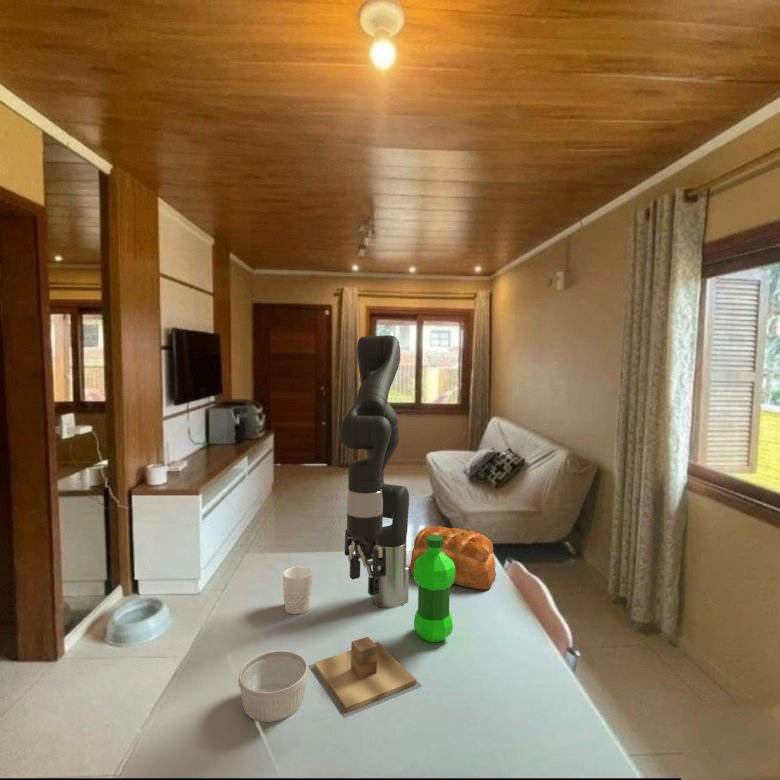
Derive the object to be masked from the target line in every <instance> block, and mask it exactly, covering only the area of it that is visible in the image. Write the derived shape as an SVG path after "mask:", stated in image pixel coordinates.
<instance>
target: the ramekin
mask: <svg viewBox="0 0 780 780" xmlns="http://www.w3.org/2000/svg"><path fill="white" fill-rule="evenodd" d="M308 675H309V664H308V662H307V660H306V658H304V657H303V656H302V655H301V654H299V653H297V652H294V651H290V650H271V651H266V652H262V653H259V654H258V655H256V656H254V657H252V658H250V659H249V660H247V662H246V663H244V664H243V666H242V667H241V669H240V671H239V674H238V687H239V689H240V695H241V696H240V697H241V703H242V708H243V710H244V712H245V713H246V715H247V717H249V718H251V720H253V721H255V722H257V721H258V723H259V722H263V723H272V722H278V721H281V720H284V719H286V718H288V717H290V716H292V715H294V714H295V712H297V711H298V709H300V707H301V706H302V704H303V701H304V698H305V694H306V693H305V692H306V686H307V679H308Z"/></svg>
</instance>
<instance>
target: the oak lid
mask: <svg viewBox="0 0 780 780" xmlns="http://www.w3.org/2000/svg"><path fill="white" fill-rule="evenodd" d="M350 647H351V650H349V651H345V652H342V653H339V654H335V655H333V656H329V657H327V658H324V659H321V660H318V661H315V662H314V663H313V664H314V667H315V668H316V670H317V671H318V673H319V674H320V676H321V677H322V678H323V680H324V681H325V683H326V684H327V686H328V687H329V688H330V690H331V691H332V693H333V694H334V696H335V697H336V698H337V700H338V701H339V703H340V704H341V706H342V707H343V708H344V710H345V711H346V713H347V712H349V711H352V710H354V709H357V708H359V707H362V706H364V705H367V704H369V703H372V702H374V701H377V700H379V699H382V698H384V697H387V696H389V695H391V694H394V693H396V692H399V691H401V690H404V689H406V688H409V687H411V686H414V685H416V680H417V679H416V678H415V677H414V676H413V675H412V674H411V673H410V672H409V671H408V670H407V669H406V668H405V667H404V666H403V665H402V664H401V663H400V662H399V660H397V659H396V657H394V656H393V655H392V654H391V652H390V651H389V650H388V649H387V648H385V647H384V645H383V644H382V643H381V642H380V641H376V642H374V641H373V640H372V639H371V638H370V637H369V636H366V637H363V638H359V639H356V640H353V641H351V646H350ZM400 664H401V665H402V666H403V667H404V668H405V669H406V670H407V671H408V672H409V673H410V674H411V675H412V676H413V677H414V678H415V679H416V680H415V679H414V678H413V677H412V676H411V675H410V674H409V673H408V672H407V671H406V670H405V669H404V668H403V667H402V666H401V665H400Z"/></svg>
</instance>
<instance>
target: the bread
mask: <svg viewBox="0 0 780 780" xmlns="http://www.w3.org/2000/svg"><path fill="white" fill-rule="evenodd" d="M429 535H440V536H442V537H443V547H441V551H442V552H443V553H444V554H445V555H447V556H448V557H449V558H450V559H451V560H452V561H453V563H454V565H455V580H454V583H453V584H456V585H458V586H461V587H465V588H469V589H476V590H488V589H490V588H492V585H493V583H494V582H495V580H496V577H497V573H496V558H495V555H494V545H493V542H492V541H491V540H490V539H489V538H488V536H486V535H484V534H481V533H480V532H478V531H475V530H473V531H472V530H468V531H467V530H465V529H461V528H457V527H456V528H455V527H451V528H449V527H446V526H440V525H439V526H426V527H424V528H422V529H420V531H419V532H418V533H417V534H416V535H415V538H414V541H413V542H414V543H413V547H412V551H411V559H410V563H409V574H411V575H412V576H413V577H414V575H413V571H414V564H415V562H416V559H418V558H419V557H420V556H421V555H422V554H424V553H425V552H427V551H428V546H426V539H427V536H429ZM453 584H452V585H453Z"/></svg>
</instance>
